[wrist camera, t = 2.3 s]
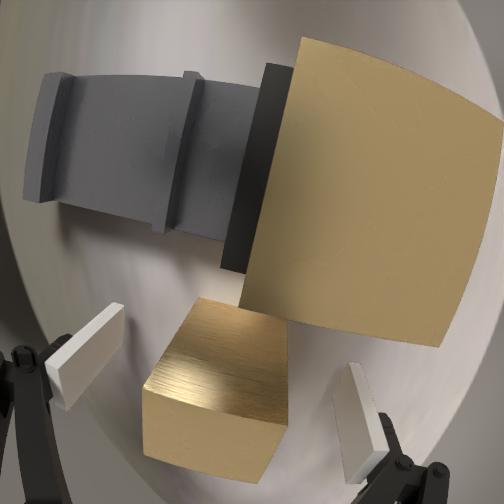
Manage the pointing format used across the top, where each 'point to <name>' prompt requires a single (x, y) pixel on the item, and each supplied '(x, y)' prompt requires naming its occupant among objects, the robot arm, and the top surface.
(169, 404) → the tan rectangular block
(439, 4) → the top surface
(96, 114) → the rail
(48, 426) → the robot arm
